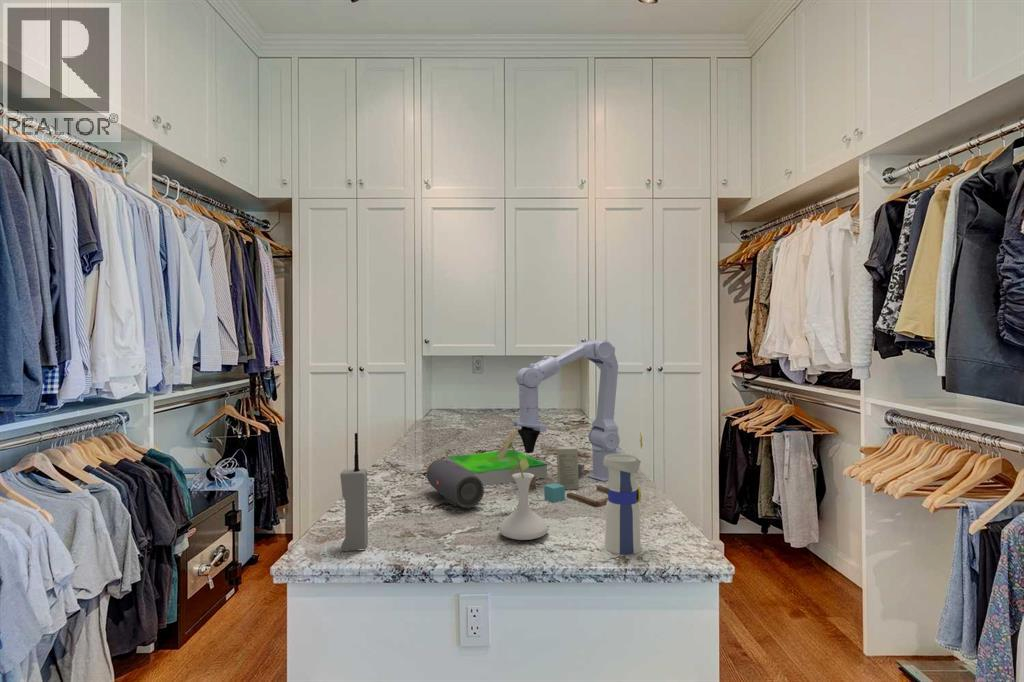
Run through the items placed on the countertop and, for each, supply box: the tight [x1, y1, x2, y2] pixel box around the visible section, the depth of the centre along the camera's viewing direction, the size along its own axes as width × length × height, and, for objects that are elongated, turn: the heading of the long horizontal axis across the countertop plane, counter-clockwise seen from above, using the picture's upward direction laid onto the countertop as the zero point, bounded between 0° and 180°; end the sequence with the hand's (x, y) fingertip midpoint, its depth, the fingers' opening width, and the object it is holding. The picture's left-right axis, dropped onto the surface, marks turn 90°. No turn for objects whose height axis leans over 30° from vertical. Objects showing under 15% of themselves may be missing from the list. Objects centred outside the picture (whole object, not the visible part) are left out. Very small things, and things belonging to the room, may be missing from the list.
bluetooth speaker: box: [426, 458, 485, 508], centre depth 153 cm, size 23×9×10 cm, turn 27°
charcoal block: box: [578, 463, 583, 478], centre depth 179 cm, size 4×4×4 cm
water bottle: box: [603, 432, 643, 555], centre depth 119 cm, size 8×9×25 cm
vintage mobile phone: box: [339, 432, 369, 551], centre depth 120 cm, size 4×5×25 cm
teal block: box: [543, 482, 566, 504], centre depth 154 cm, size 4×4×4 cm
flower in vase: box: [497, 428, 549, 541], centre depth 126 cm, size 13×11×25 cm
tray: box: [447, 449, 548, 487], centre depth 183 cm, size 25×25×5 cm
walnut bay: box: [566, 485, 608, 508], centre depth 155 cm, size 13×12×1 cm
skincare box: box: [556, 445, 580, 490], centre depth 166 cm, size 6×4×12 cm
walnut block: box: [529, 476, 537, 491], centre depth 164 cm, size 4×4×4 cm
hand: (529, 452), depth 167 cm, fingers closed
